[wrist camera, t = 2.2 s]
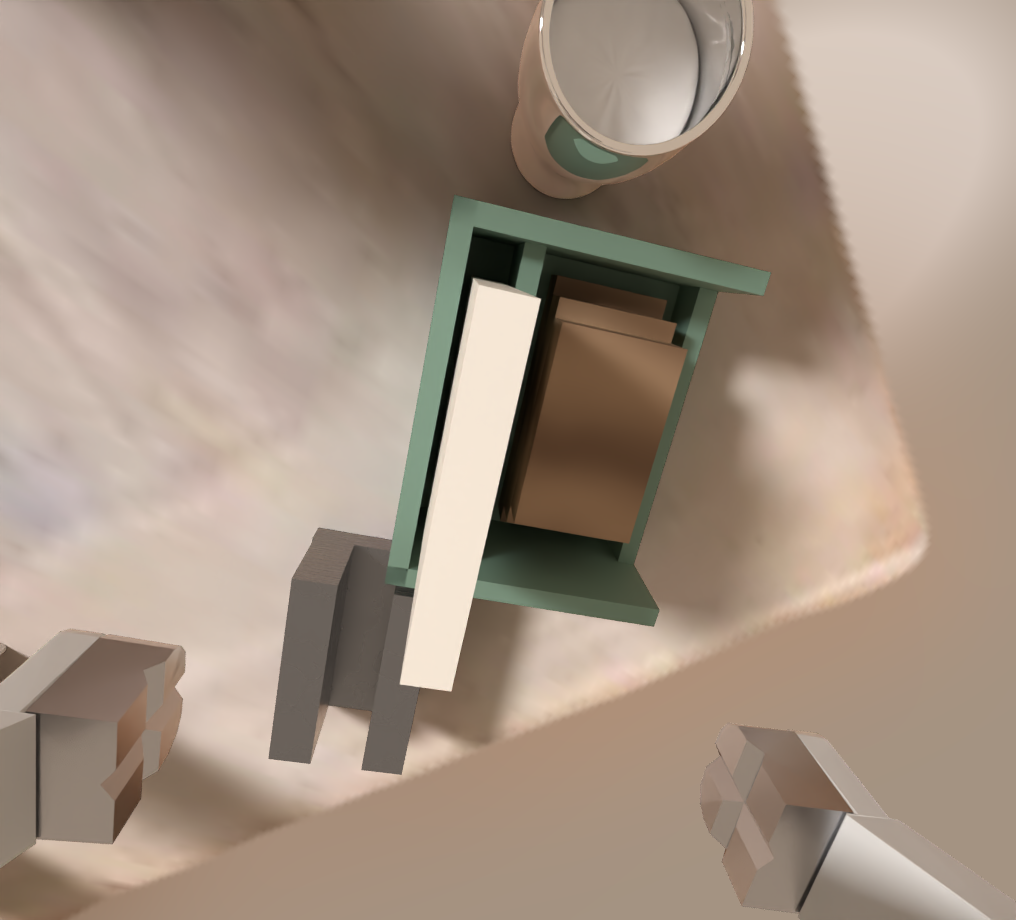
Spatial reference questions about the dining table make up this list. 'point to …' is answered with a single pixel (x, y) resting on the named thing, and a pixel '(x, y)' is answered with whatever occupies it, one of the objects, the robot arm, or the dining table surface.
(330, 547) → the stand
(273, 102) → the dining table surface
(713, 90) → the beer glass
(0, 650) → the brochure
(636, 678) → the dining table surface
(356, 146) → the dining table surface
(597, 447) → the top offcut
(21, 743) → the robot arm
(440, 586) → the cream rectangular slab
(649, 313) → the bottom offcut
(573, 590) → the offcut rack
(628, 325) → the middle offcut
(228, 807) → the dining table surface
